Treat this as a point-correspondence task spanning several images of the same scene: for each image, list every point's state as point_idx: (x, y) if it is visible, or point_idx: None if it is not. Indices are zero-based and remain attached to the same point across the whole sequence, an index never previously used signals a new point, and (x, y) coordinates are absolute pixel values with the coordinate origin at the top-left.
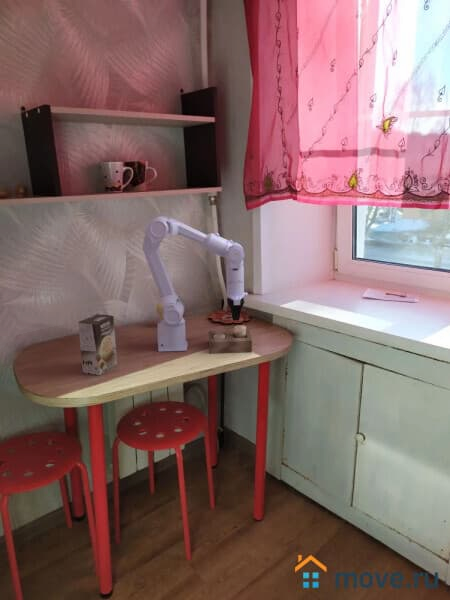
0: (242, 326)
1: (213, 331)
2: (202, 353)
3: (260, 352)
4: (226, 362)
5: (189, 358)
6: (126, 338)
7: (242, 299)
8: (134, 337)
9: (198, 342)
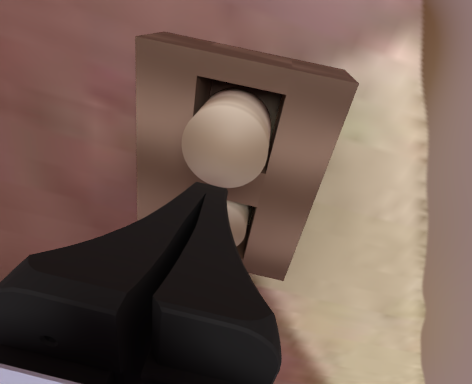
0: (214, 128)
1: None
2: None
3: (367, 15)
4: (402, 215)
5: (302, 302)
6: None
7: (121, 327)
8: None
9: None
